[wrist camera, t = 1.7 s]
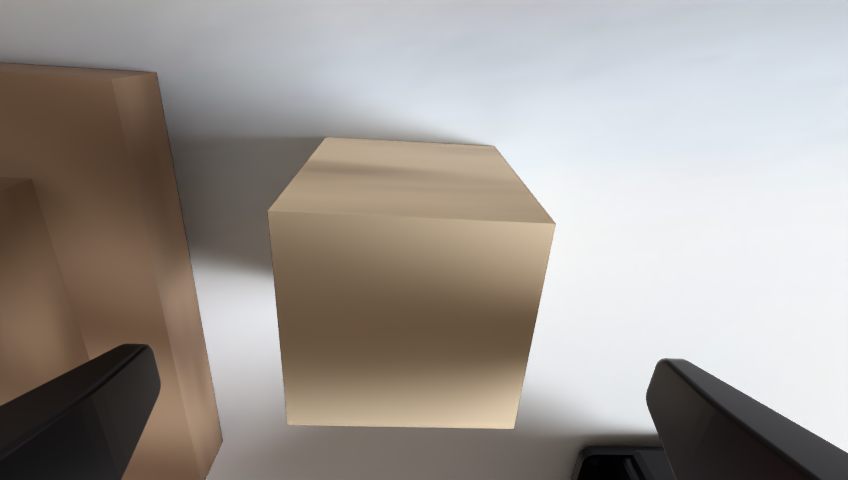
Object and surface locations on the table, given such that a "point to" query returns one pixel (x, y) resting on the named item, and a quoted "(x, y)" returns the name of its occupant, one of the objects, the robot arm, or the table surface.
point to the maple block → (406, 285)
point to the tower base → (100, 251)
